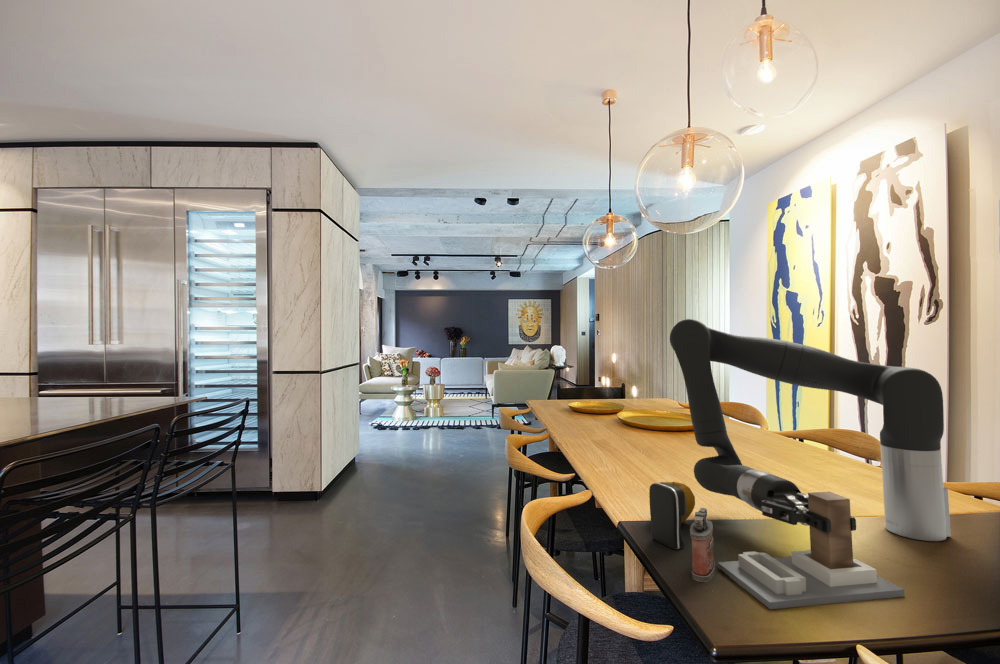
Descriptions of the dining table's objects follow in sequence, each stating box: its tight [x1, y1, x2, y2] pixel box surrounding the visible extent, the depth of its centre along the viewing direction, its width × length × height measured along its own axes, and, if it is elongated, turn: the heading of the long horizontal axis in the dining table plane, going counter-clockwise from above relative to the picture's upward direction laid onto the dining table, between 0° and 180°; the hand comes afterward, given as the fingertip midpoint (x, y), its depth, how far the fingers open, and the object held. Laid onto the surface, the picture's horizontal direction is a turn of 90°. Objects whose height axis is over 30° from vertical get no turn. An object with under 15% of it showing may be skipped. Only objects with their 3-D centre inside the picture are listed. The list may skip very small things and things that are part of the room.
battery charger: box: [648, 481, 686, 550], centre depth 92 cm, size 7×4×11 cm, turn 24°
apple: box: [664, 481, 696, 524], centre depth 102 cm, size 9×9×9 cm
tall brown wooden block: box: [807, 491, 854, 569], centre depth 76 cm, size 4×4×11 cm
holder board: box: [717, 549, 905, 610], centre depth 75 cm, size 22×13×3 cm, turn 97°
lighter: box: [689, 507, 716, 583], centre depth 80 cm, size 8×3×10 cm, turn 148°
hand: (841, 525), depth 74 cm, fingers closed on tall brown wooden block, 3 cm apart
